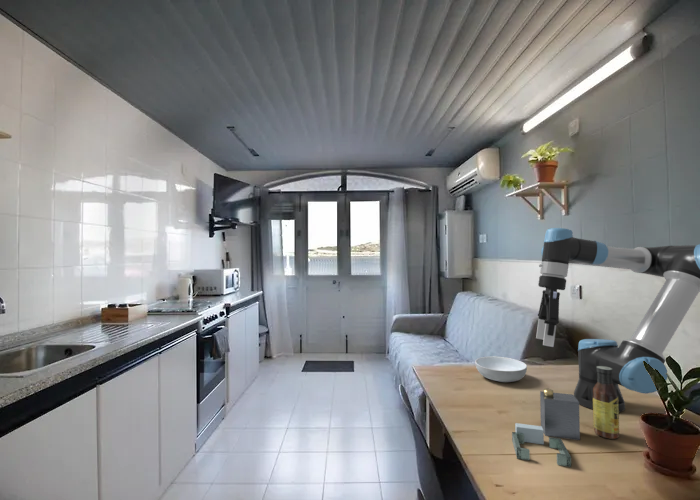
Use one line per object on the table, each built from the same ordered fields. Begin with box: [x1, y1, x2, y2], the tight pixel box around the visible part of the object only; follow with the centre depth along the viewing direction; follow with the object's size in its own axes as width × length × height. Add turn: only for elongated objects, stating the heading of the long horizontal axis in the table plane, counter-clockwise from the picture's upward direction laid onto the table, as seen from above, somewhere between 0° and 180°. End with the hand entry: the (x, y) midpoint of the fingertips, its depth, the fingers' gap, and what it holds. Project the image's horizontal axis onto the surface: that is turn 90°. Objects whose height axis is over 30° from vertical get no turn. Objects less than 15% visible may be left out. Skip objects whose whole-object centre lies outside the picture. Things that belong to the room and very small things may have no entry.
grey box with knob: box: [539, 388, 581, 441], centre depth 106 cm, size 9×6×13 cm, turn 72°
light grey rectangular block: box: [514, 422, 545, 445], centre depth 101 cm, size 7×2×4 cm, turn 72°
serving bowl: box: [474, 355, 528, 383], centre depth 153 cm, size 21×21×7 cm
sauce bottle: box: [592, 366, 620, 440], centre depth 105 cm, size 6×6×20 cm
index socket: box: [511, 431, 572, 468], centre depth 95 cm, size 12×10×2 cm
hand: (544, 342), depth 111 cm, fingers open, 13 cm apart
